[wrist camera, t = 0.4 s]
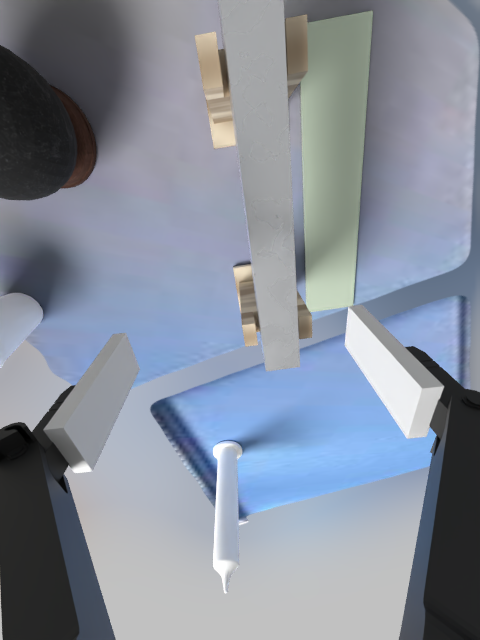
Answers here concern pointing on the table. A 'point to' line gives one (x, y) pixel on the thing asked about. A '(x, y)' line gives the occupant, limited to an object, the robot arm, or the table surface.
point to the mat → (333, 154)
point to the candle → (226, 511)
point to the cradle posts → (224, 137)
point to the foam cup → (17, 321)
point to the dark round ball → (39, 134)
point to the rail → (264, 165)
